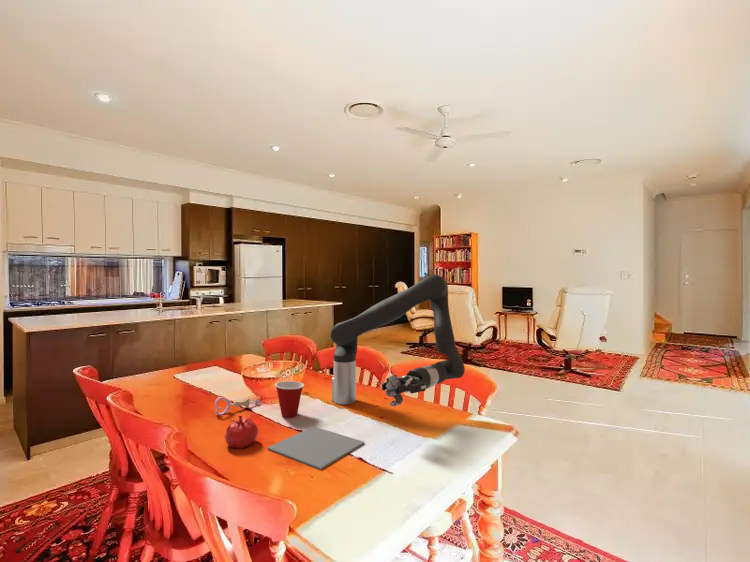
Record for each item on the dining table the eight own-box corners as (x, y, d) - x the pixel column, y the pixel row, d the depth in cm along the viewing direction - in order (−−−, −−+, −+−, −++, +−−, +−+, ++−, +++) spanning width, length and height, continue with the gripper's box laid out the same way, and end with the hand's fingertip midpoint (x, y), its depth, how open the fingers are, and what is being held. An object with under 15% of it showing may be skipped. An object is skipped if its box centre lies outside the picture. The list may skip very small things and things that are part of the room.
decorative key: (261, 411, 163) (214, 416, 148) (260, 410, 163) (212, 415, 149) (264, 394, 163) (216, 397, 149) (262, 393, 164) (215, 397, 150)
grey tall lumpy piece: (398, 409, 123) (397, 377, 123) (383, 406, 126) (382, 375, 125) (406, 404, 127) (405, 373, 127) (391, 402, 130) (391, 371, 130)
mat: (267, 449, 121) (267, 447, 121) (313, 427, 138) (313, 426, 138) (320, 469, 109) (320, 467, 109) (364, 443, 125) (364, 441, 125)
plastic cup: (309, 416, 148) (308, 384, 148) (280, 422, 143) (280, 389, 142) (298, 408, 158) (298, 378, 157) (271, 413, 152) (271, 382, 152)
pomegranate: (264, 440, 128) (264, 412, 128) (242, 453, 119) (242, 422, 119) (240, 435, 132) (240, 407, 132) (217, 447, 123) (217, 417, 123)
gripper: (406, 363, 141) (372, 372, 129) (440, 371, 131) (406, 381, 119) (406, 384, 142) (372, 395, 130) (439, 393, 131) (406, 406, 119)
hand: (389, 388), depth 124 cm, fingers closed on grey tall lumpy piece, 5 cm apart
